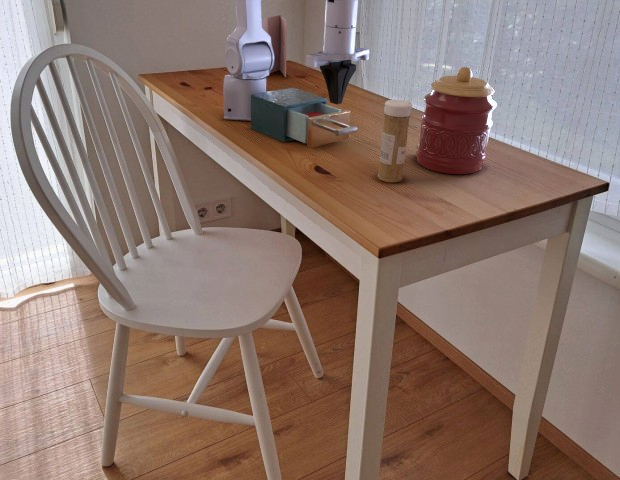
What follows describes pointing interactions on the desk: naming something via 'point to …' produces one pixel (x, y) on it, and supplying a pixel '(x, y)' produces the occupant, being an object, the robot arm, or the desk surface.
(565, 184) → the desk surface
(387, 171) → the sprinkles bottle
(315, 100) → the teal box
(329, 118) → the drawer
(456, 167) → the kitchen canister
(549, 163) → the desk surface
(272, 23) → the greeting card
